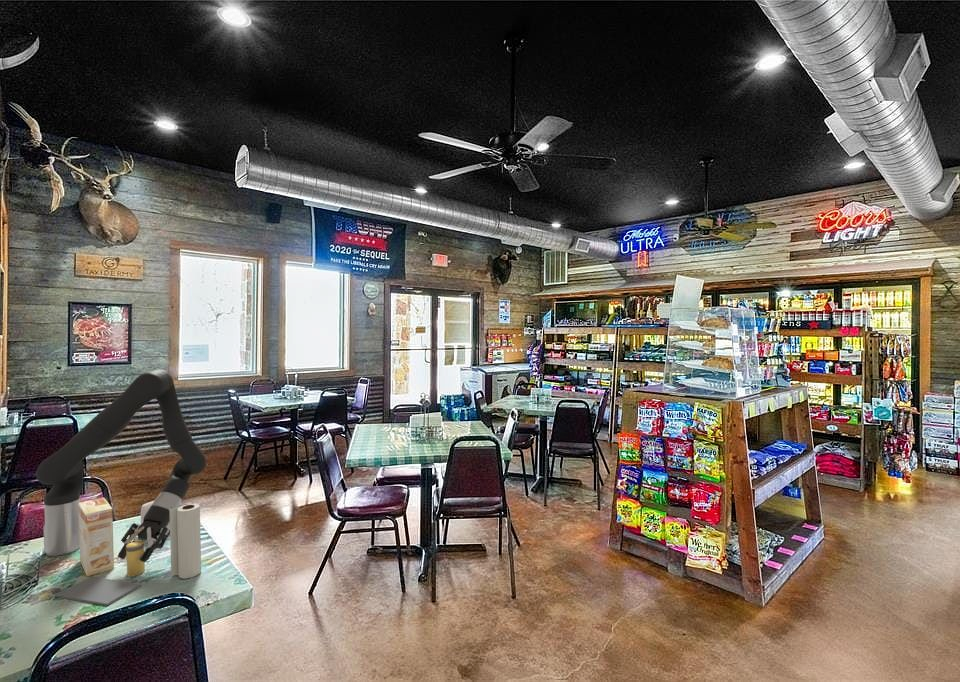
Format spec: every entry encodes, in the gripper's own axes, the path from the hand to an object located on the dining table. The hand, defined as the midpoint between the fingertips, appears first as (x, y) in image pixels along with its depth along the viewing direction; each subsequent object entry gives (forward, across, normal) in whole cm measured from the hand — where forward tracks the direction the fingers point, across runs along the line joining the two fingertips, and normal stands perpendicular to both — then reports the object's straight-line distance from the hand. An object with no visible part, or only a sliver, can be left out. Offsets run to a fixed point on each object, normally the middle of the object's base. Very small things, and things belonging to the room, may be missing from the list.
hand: (131, 559), depth 146 cm
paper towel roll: (0, +17, +6) cm, 18 cm away
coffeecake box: (+2, -17, +5) cm, 18 cm away
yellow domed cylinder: (+2, 0, +4) cm, 5 cm away
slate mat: (+10, 0, -4) cm, 11 cm away
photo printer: (-14, -18, +21) cm, 31 cm away
